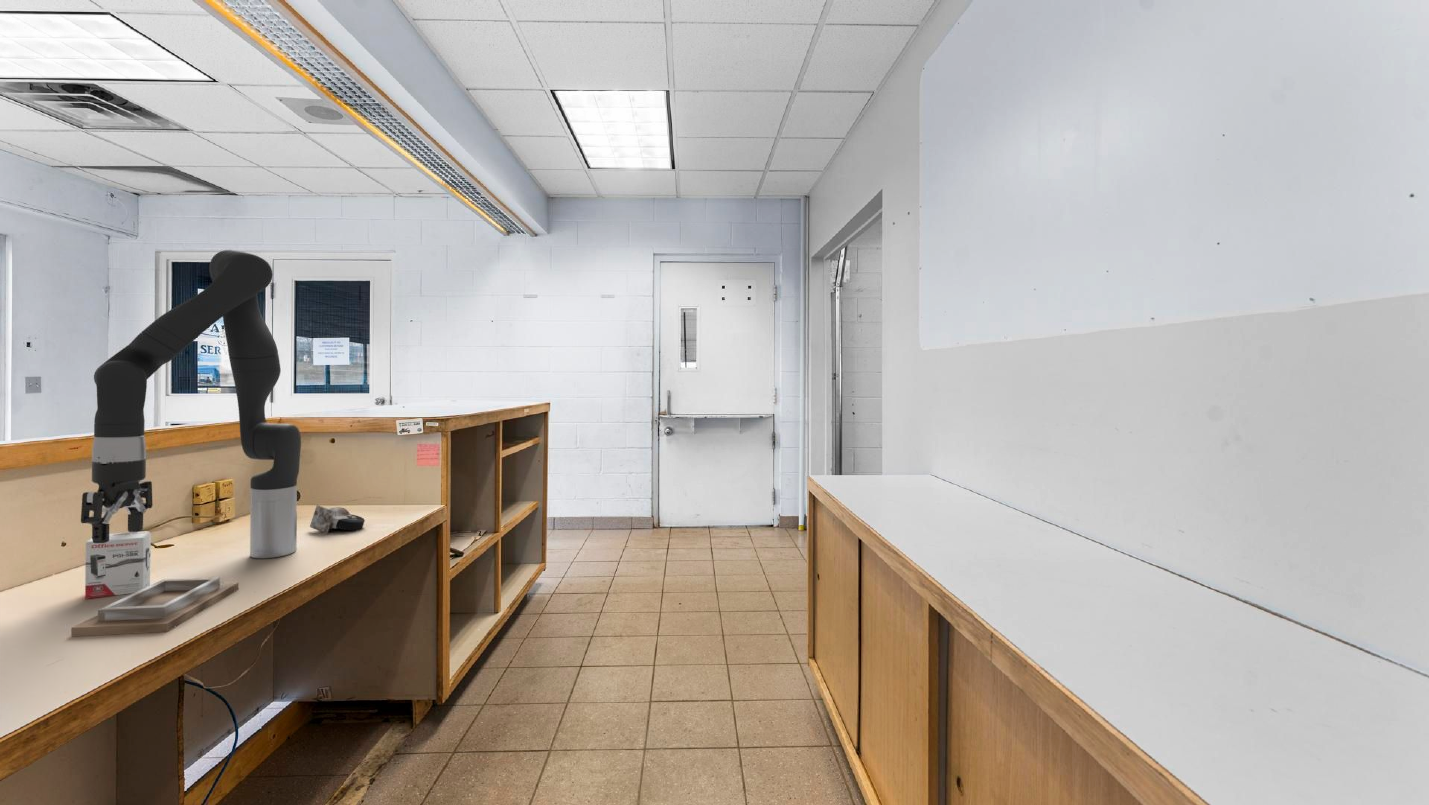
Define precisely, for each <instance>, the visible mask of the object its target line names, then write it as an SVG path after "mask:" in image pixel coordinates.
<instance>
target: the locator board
mask: <svg viewBox="0 0 1429 805" xmlns="http://www.w3.org/2000/svg"><path fill="white" fill-rule="evenodd" d="M239 583H240V582H239V581H238V582H221V578H220V577H203V578H202V577H201V578H173V579H172V578H169V579H168V578H167V579H166V578H165V579H161V580H158V581H157V582H154V583H153V584H150V585H149V586H148V587H146V588H144V589H142V590H139V591H137V592H135V593H131V594H128V595H126V596H124V597H123V598H121V599H118V600H116V601H114V602H112V603H110V604H108V605H105V606H104V607H101V608H99V609H98V610H97V615H94V616H92V617H91V618H89V619H86V620H85V621H82V622H81V623H78V624H76V625H74V626H72V627H71V628H70V632H71V633H70V635H71V637H85V636H86V637H87V636H88V637H89V636H107V635H126V634H127V635H128V634H147V633H148V632H152V633H169V631H171V630H172V629H174V628H176V627H178V626H179V625H181V624H183V623H184V622H186V621H188V620H189V618H190V619H192V618H193V617H194V615H195V616H197V614H200V613H201V612H203V611H205V610H207V609H208V608H210V607H212V606H213V605H215V604H216V603H218V602H220V601H222V600H223V599H225V598H227V597H228V596H230V595H231V594H233V593H235V592H236V591H238V590H239V585H240V584H239ZM234 591H235V592H234ZM204 609H205V610H204ZM199 612H200V613H199ZM175 626H176V627H175ZM148 634H149V633H148Z"/></svg>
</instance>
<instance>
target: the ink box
mask: <svg viewBox="0 0 1429 805" xmlns="http://www.w3.org/2000/svg"><path fill="white" fill-rule="evenodd" d="M151 533H152V532H150V531H148V530H147V531H146V530H145V531H139V532H129V531H128V532H118V533H117V532H116V533H109V541H108V542H106V543H93V540H92V537H91V538H89V539H88V540H87V541H85V565H84V566H85V578H84V579H85V580H84V581H85V582H84V583H85V586H84V587H85V588H84V590H85V592H84V593H85V594H84V595H85V596H84V599H85V600H87V599H88V600H89V599H96V598H103V597H112V596H114V597H115V596H121V595H131V594H133V593H135V592H137V591H139V590H142V589H144V588H146V587H148V586H150V585H151V557H152V556H151V554H152V553H151V547H152V545H151V544H152V543H151V542H152V541H151V539H152V538H151V535H152V534H151Z"/></svg>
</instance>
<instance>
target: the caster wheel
mask: <svg viewBox="0 0 1429 805" xmlns="http://www.w3.org/2000/svg"><path fill="white" fill-rule="evenodd" d="M314 509H315V510H314V512H313V515H312V518H311V521H310V524H309V528H312V529H314V530H316V531H319V532H321V533H323V534H326V533H327V534H328V533H329V530H330V529H331V530H332V529H338V530H339V529H340V530H345V531H359V530H362V529H363V528H364V524H365V522H366V521H365V519H364V518H363V517H362V516H359V515H355V514H351V513H350V512H349V510H347V509H346V508H344V507H341V506H335V507H324V506H321V505H319V504H316V506H315V508H314Z"/></svg>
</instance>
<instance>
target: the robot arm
mask: <svg viewBox="0 0 1429 805" xmlns="http://www.w3.org/2000/svg"><path fill="white" fill-rule="evenodd" d="M209 274H210V278H211V282H212V283H210V284H209V285H208V286H207V287H206V288H205V289H203V290H202V291H201V292H198V294H196V295H195V296H194V297H193V296H192V297H191V298H190V299H188V300H186V301H184V302H183V303H181V304H179V305H176V306H175V307H173V308H171V309H170V310H168V311H167V312H165V313H164V314H161V315H160V316H159V317H158V318H156V319H155V320H154V321H153V322H152V323H150V324H149V325H147V326H146V327H145V328H144V329H143V330H142V331H141V332H140V333H139V334H137V335H136V336H135V338H133V340H131V342H130V343H129V344H128V345H126V346H125V347H123V348H122V349H121V350H119V351H118V352H117V353H115V354H114V355H112V356H111V357H110V358H108V359H107V360H106V361H104V363H102V364H101V365H100V366H98V367H97V368H96V370H95V372H94V375H93V380H94V383H95V385H96V405H97V410H96V411H95V414H94V422H93V423H94V424H93V425H94V426H93V427H94V429H93V442H92V446H91V482H92V483H94V484H97V485H98V489H97V491H87V492H83V493H82V496H81V511H80V512H81V513H80V523H82V524H88V525H91V527H92V528H91V533H92V534H91V538H92V540H93V543H106V542H108V541H109V534H110V523H109V522H110V520H111V519H112V517H113V515H115V514H117V513H118V511H119V509H123V508H124V509H125V510H126V512H127V513H129V514H127V531H128V533H129V532H143V531H142V530H143V528H144V514H145V513H146V511H147V510H148V509H152V508H153V505H154V504H153V484H152V483H153V482H152V481H150V480H148V481H147V480H145V479H146V473H147V467H146V466H147V445H146V439H145V412H144V409H145V404H146V396H147V389H148V388H147V387H148V385H147V384H148V383H147V382H148V379H149V378H150V377H151V376H153V375H154V374H155V372H157V371H158V370H159V369H160V368H161V367H162V366H163V365H165V364H167V363H169V362H171V361H172V360H174V359H175V358H176V357H177V356H178V355H180V353H182V352H183V351H184V350H185V349H186V348H188V346H189V345H191V344H192V343H193V342H194V341H195V340H196V339H197V338H198V337H200V336H201V335H202V334H203V333H204V332H205V331H207V329H209V328H210V327H211V326H212V325H214V324H215V323H216V322H217V321H219V320H220V319H222V321H223V328H224V333H225V334H224V335H225V339H226V344H227V345H226V346H227V351H228V352H227V353H228V358H229V364H230V368H231V372H232V373H231V374H232V378H233V382H234V386H235V394H236V398H237V406H238V417H239V420H238V421H239V435H240V436H239V438H240V443H241V448H242V451H243V452H244V455H245V456H246V457H248V458H249V459H251V460H260V461H261V460H262V461H264V460H265V461H269V460H271V461H272V460H273V462H272V466H271V467H272V468H271V469H270V468H269V470H267V471H265V472H262V473H257V474H255V475H253V476H252V477H251V478H250V512H249V514H250V522H249V523H250V526H249V527H250V529H249V532H250V534H249V537H250V538H249V542H250V543H249V546H250V547H249V550H250V551H249V557H251V558H254V559H272V558H279V557H283V556H287V555H291V554H293V553H295V552H296V551H297V543H298V542H297V541H298V540H297V539H298V536H297V534H298V533H297V530H298V528H297V527H298V525H297V524H298V521H297V520H298V519H297V518H298V513H297V507H298V504H297V503H298V502H297V501H298V497H297V495H298V493H297V492H298V491H297V490H298V486H297V485H298V482H297V481H298V477H299V473H300V462H301V461H300V460H301V451H302V450H301V449H302V436H301V432H300V430H299V428H298V427H297V426H296V425H295V424H292V423H271V422H270V423H269V422H267V420H266V414H265V413H266V411H265V410H266V409H265V406H266V402H267V400H268V397H269V396H270V393H272V391H273V389H274V388H275V386H276V384H277V383H278V380H279V378H280V376H281V372H282V371H281V361H280V356H279V351H278V347H277V342H276V341H275V339H274V337H273V335H272V332H271V331H270V329H269V327H268V325H267V323H266V322H265V319H264V317H263V315H262V313H261V309H260V307H259V306H260V305H259V300H258V294H259V293H260V292H262V291H264V290H265V289H266V288H267V287H268V286H269V285H270V284H271V282H272V280H273V268H272V267H271V265H270V264H269V262H268V261H267V260H266V259H265V258H263V257H262V256H260V255H258V254H255V253H251V252H248V251H241V250H232V249H228V250H227V249H224V250H221V251H219V252H217V253H215V255H213V257H212V258H211V260H210V262H209ZM144 499H145V501H144ZM91 511H92V512H93V513H92V515H91V516H90V512H91ZM102 516H103V517H102Z"/></svg>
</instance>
